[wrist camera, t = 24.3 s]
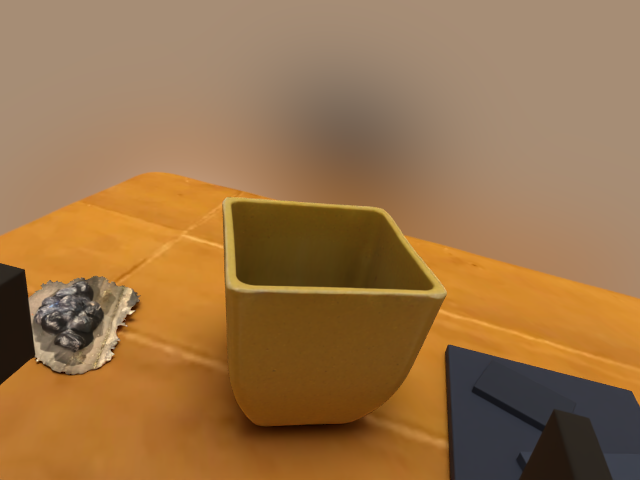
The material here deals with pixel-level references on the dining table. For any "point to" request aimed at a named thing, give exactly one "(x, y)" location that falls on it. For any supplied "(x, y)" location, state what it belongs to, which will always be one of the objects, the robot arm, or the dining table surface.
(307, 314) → the flower pot
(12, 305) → the robot arm
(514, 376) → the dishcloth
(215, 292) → the dining table surface
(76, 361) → the grey mineral rock
